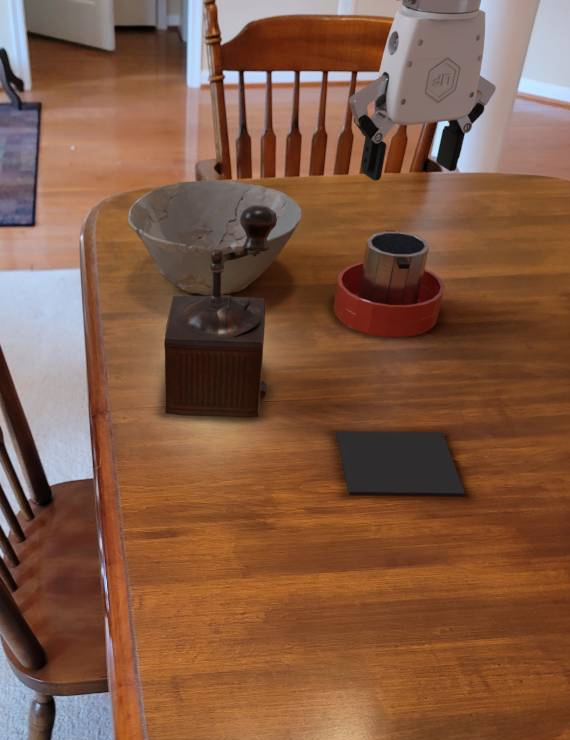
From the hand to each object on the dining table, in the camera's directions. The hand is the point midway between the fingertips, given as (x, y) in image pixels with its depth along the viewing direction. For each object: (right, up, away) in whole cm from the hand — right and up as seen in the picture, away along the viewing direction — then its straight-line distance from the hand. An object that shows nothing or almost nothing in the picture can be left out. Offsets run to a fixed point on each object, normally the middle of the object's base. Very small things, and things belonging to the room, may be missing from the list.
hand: (408, 171), depth 95 cm
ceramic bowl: (-21, -7, +19) cm, 30 cm away
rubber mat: (-5, -35, -11) cm, 37 cm away
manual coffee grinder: (-22, -24, +1) cm, 32 cm away
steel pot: (0, -13, +12) cm, 17 cm away
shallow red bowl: (0, -13, +12) cm, 18 cm away
